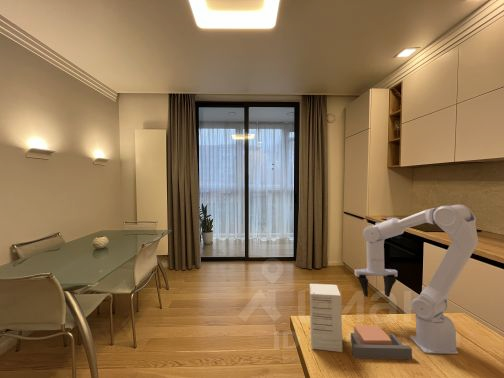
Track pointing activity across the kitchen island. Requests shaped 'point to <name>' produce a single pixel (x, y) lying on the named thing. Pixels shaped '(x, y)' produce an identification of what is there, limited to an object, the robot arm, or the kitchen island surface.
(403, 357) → the grey tray
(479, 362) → the kitchen island surface
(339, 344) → the supplement box
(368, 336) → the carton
